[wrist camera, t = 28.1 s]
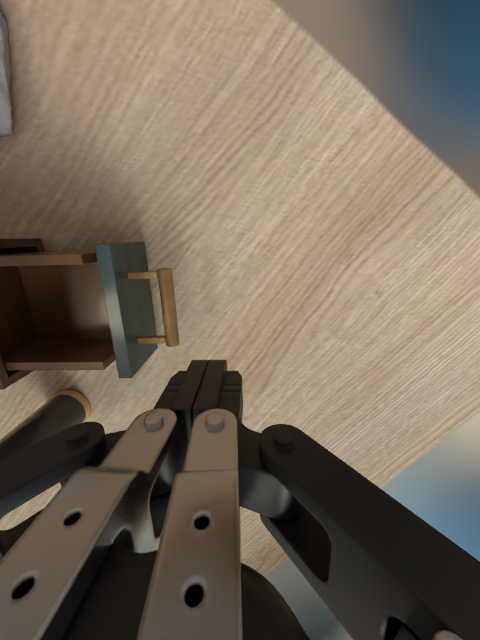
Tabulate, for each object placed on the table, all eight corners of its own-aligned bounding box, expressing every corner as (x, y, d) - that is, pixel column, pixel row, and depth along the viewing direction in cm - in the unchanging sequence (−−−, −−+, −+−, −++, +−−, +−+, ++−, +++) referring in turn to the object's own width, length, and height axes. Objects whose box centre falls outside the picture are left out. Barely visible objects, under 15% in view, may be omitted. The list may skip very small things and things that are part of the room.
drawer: (182, 240, 26) (159, 242, 20) (191, 347, 30) (174, 378, 23) (14, 245, 27) (-61, 248, 21) (42, 348, 31) (-14, 378, 24)
